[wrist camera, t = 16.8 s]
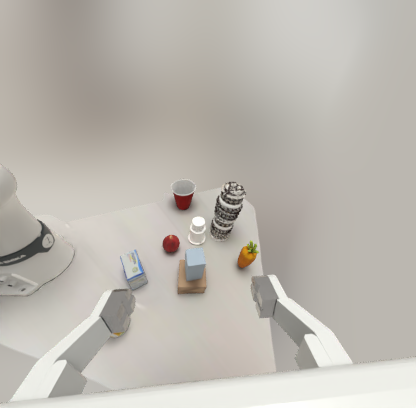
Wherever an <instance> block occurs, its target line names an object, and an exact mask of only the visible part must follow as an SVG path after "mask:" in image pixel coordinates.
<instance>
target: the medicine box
mask: <svg viewBox="0 0 416 408" xmlns="http://www.w3.org/2000/svg"><path fill="white" fill-rule="evenodd" d="M120 258H121V261H122V265H123V268H124V272H125V275H126V278H127V281H128V283H129V285H130V286H131V288H132V290H134V289H136V288H138V287H140V286H142V285H144V284H146V283H147V279H146V276H145V273H144V270H143V268H142V265H141V262H140V260H139V257H138V254H137V251H136V250H133V251H131V252H128V253H126V254H124V255H121V256H120Z"/></svg>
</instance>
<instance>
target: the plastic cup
mask: <svg viewBox="0 0 416 408" xmlns="http://www.w3.org/2000/svg"><path fill="white" fill-rule="evenodd" d="M195 189H196V184H194V182H192V181H191V180H187V179H180V180H177V181H175V182H173V183H172V185H171V190H172V192H173V194H174V197H175V201H176V204H177V207H178V208H179V209H181V210H186V209H188V208H189V206H190V203H191V200H192V197H193V194H194V192H195Z"/></svg>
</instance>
